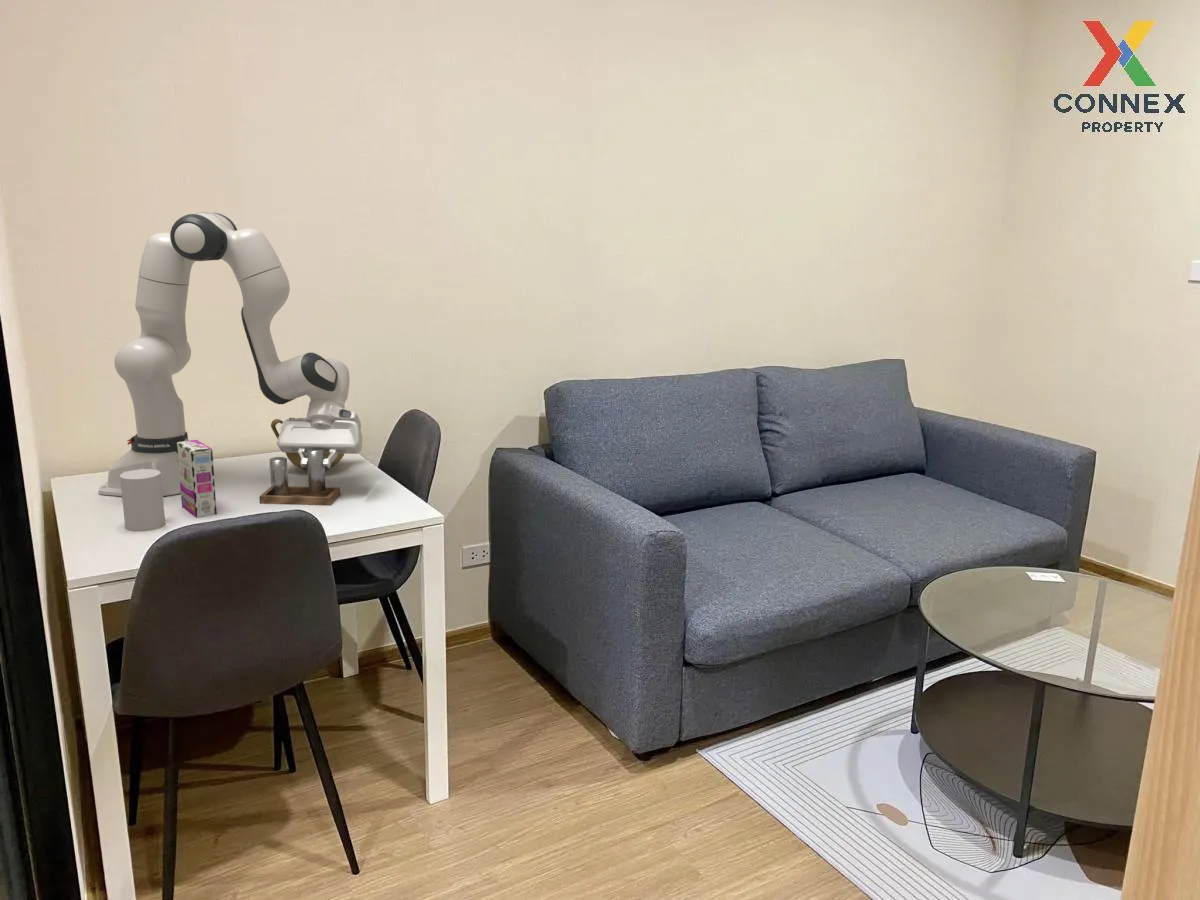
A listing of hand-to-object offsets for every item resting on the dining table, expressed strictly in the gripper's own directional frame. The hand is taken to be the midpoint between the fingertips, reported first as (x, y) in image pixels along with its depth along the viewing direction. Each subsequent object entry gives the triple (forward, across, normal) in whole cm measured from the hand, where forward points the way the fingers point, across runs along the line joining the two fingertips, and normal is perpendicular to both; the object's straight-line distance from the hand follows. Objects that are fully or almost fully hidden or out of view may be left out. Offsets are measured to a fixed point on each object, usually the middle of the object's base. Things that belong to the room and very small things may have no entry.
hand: (315, 466), depth 226 cm
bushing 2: (+4, 0, +5) cm, 6 cm away
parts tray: (+6, -4, +7) cm, 10 cm away
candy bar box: (+14, -25, -1) cm, 28 cm away
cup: (+20, -33, -8) cm, 39 cm away
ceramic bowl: (-15, -9, +28) cm, 33 cm away
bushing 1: (+6, -9, +6) cm, 12 cm away
